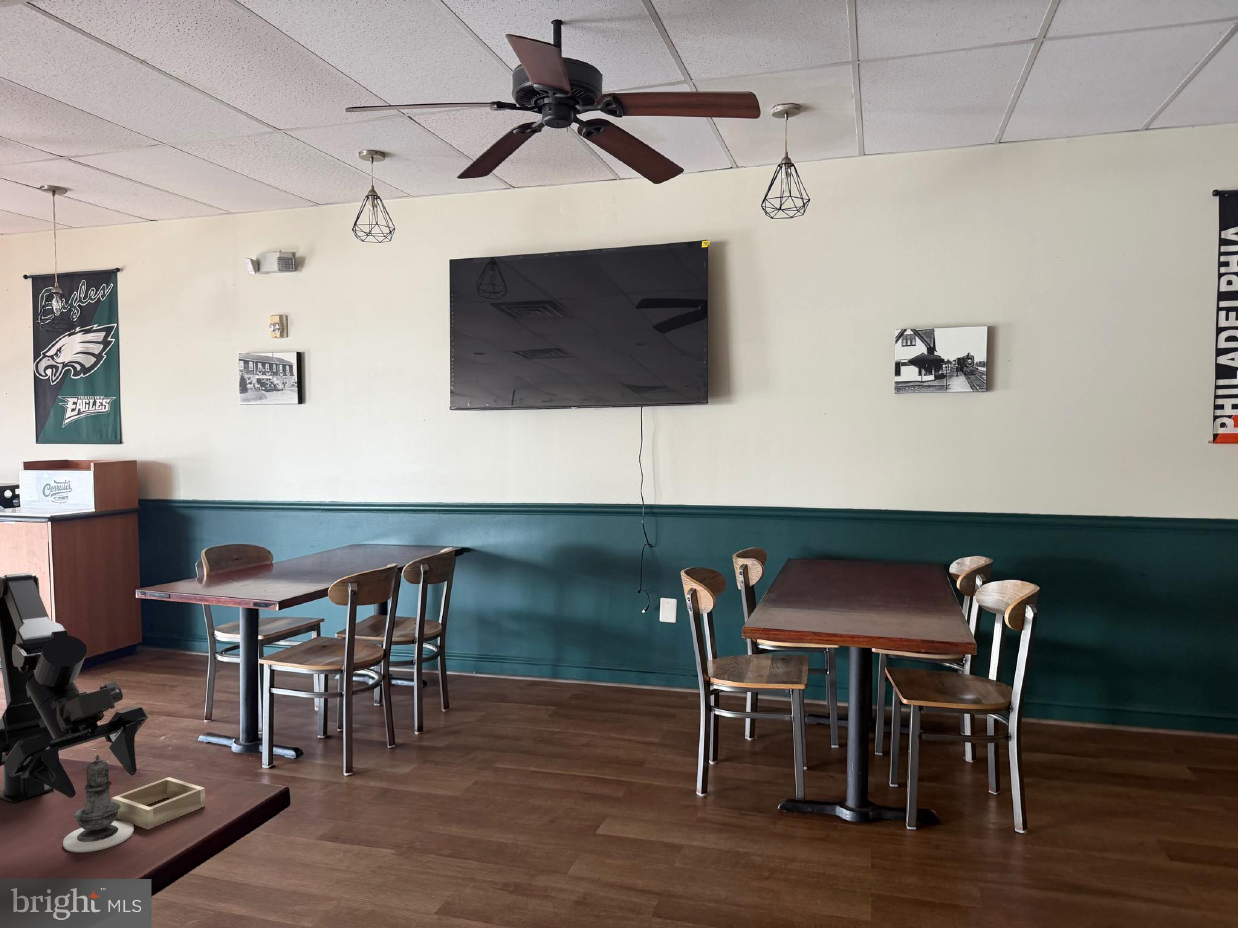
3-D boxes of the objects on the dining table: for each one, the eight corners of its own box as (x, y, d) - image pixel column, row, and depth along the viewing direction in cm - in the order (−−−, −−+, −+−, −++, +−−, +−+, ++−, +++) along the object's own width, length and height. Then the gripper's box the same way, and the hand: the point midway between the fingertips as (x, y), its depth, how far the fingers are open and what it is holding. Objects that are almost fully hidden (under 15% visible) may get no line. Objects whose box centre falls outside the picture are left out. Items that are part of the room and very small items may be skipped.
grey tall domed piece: (97, 844, 120) (97, 763, 120) (64, 840, 121) (64, 760, 121) (129, 826, 126) (129, 749, 125) (97, 823, 127) (97, 746, 127)
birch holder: (111, 816, 131) (111, 797, 131) (168, 794, 139) (168, 776, 139) (148, 829, 126) (148, 810, 126) (204, 805, 135) (204, 787, 135)
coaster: (50, 843, 121) (50, 839, 121) (111, 819, 129) (111, 815, 129) (85, 857, 117) (85, 853, 117) (146, 832, 125) (146, 828, 125)
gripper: (15, 684, 116) (63, 775, 112) (140, 656, 133) (186, 733, 129) (-16, 731, 120) (29, 821, 115) (109, 697, 137) (153, 774, 132)
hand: (104, 784), depth 123 cm, fingers open, 9 cm apart
